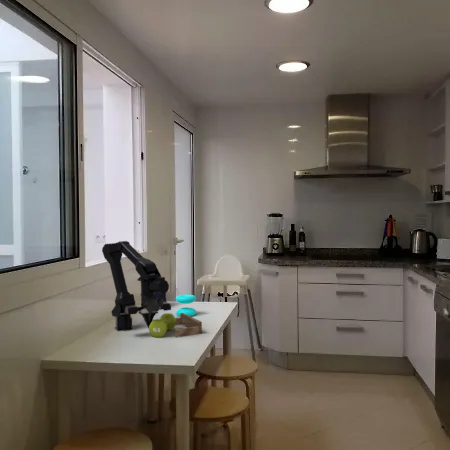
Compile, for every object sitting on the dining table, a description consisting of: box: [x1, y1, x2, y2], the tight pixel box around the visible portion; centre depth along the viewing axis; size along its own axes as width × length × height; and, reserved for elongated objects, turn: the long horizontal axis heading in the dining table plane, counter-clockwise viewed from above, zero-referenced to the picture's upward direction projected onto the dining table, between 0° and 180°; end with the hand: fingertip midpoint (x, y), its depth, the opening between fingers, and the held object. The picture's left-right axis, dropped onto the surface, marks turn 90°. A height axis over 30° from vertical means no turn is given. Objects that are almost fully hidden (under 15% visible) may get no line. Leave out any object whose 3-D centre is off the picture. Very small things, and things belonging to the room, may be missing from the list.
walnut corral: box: [174, 313, 203, 338], centre depth 218 cm, size 12×22×5 cm, turn 26°
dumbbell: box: [148, 312, 177, 338], centre depth 214 cm, size 16×8×7 cm, turn 167°
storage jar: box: [155, 292, 168, 311], centre depth 271 cm, size 10×10×15 cm
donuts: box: [175, 293, 197, 318], centre depth 250 cm, size 10×10×10 cm
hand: (148, 328), depth 212 cm, fingers closed
